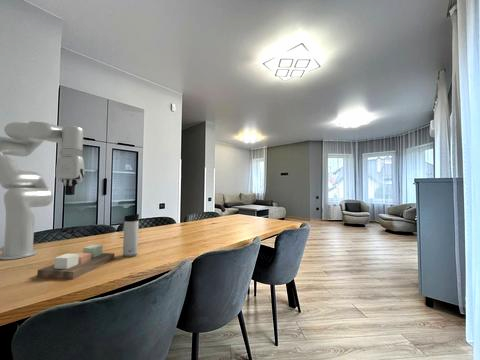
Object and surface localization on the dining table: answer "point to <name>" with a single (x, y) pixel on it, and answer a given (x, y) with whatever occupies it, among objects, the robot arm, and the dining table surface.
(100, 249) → the sage key
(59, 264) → the cream key
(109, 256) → the walnut panel
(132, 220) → the travel mug
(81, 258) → the terracotta key
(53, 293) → the dining table surface
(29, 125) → the robot arm
